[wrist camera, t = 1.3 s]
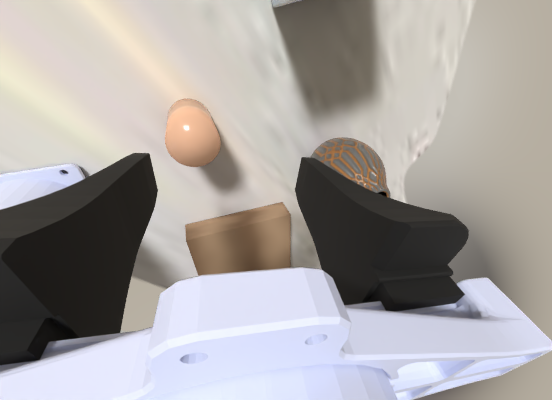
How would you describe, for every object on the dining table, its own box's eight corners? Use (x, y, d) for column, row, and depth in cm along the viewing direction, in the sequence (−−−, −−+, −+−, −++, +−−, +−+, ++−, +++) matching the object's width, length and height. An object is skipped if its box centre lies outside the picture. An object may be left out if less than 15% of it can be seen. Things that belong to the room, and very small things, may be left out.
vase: (360, 161, 28) (419, 200, 21) (315, 196, 29) (357, 245, 22) (340, 115, 24) (405, 145, 17) (287, 157, 24) (330, 203, 18)
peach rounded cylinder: (174, 143, 20) (174, 170, 16) (162, 101, 18) (157, 119, 14) (214, 137, 21) (224, 162, 17) (206, 96, 19) (215, 112, 15)
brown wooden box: (209, 296, 32) (214, 331, 28) (185, 224, 25) (186, 259, 21) (284, 272, 35) (297, 301, 31) (282, 202, 27) (299, 228, 24)
